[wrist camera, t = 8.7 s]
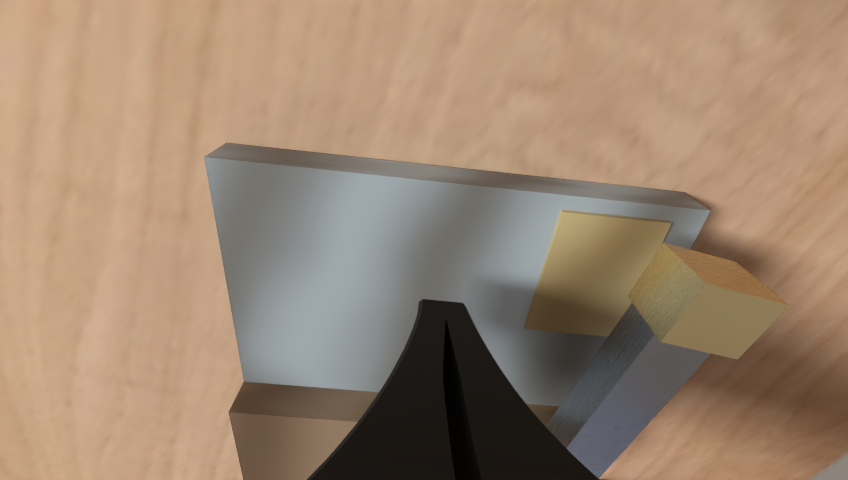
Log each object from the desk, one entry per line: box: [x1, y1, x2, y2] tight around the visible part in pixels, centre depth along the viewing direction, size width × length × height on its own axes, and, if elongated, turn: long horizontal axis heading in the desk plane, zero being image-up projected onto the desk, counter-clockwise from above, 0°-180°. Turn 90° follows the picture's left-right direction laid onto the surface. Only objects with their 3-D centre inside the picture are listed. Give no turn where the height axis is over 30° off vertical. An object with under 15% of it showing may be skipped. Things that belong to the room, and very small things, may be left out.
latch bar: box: [545, 242, 789, 479], centre depth 14 cm, size 13×3×2 cm, turn 164°
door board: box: [204, 143, 711, 480], centre depth 16 cm, size 16×15×3 cm
